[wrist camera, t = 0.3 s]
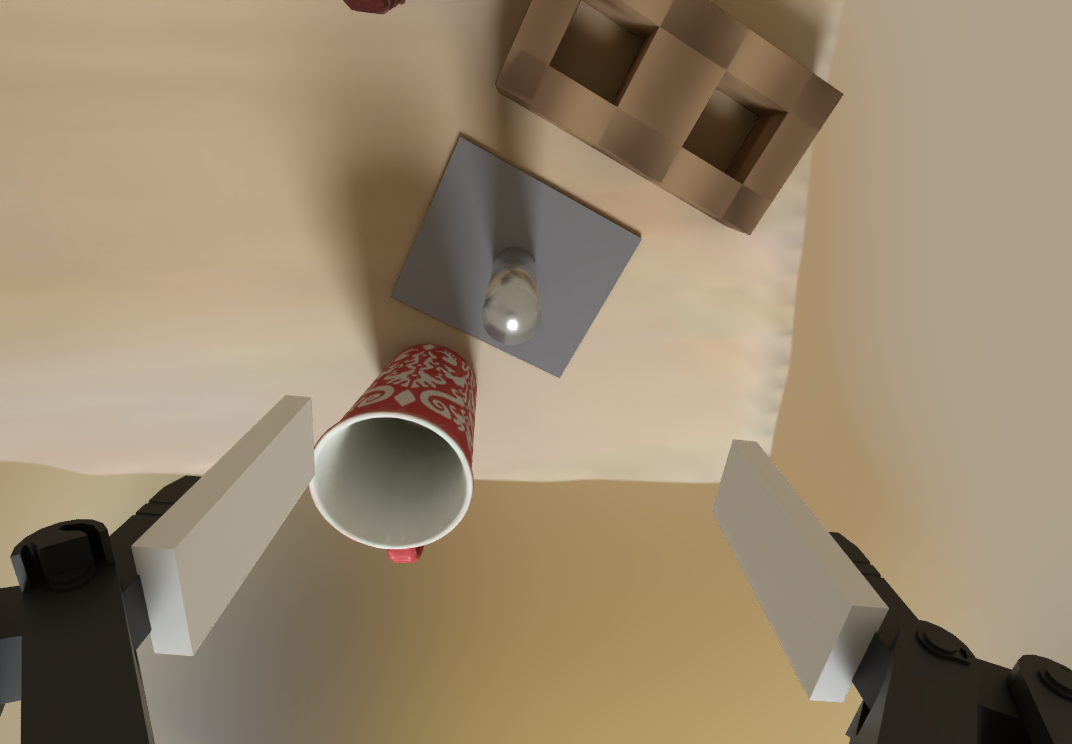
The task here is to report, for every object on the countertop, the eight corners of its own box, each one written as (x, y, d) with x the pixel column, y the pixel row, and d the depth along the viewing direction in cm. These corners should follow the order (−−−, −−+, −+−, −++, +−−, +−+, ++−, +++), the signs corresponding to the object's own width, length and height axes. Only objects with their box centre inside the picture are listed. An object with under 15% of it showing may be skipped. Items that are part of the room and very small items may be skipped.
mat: (391, 295, 38) (390, 297, 38) (460, 136, 34) (460, 136, 34) (559, 376, 41) (559, 378, 41) (640, 238, 37) (641, 238, 37)
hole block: (498, 91, 33) (495, 84, 30) (566, -63, 30) (573, -93, 27) (727, 226, 37) (749, 235, 33) (808, 100, 34) (843, 94, 30)
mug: (370, 325, 39) (300, 405, 27) (491, 336, 40) (478, 420, 27) (373, 468, 44) (314, 593, 32) (481, 476, 45) (465, 602, 32)
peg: (486, 277, 38) (471, 329, 27) (505, 239, 37) (497, 276, 26) (523, 295, 38) (524, 354, 27) (542, 259, 37) (551, 304, 26)
